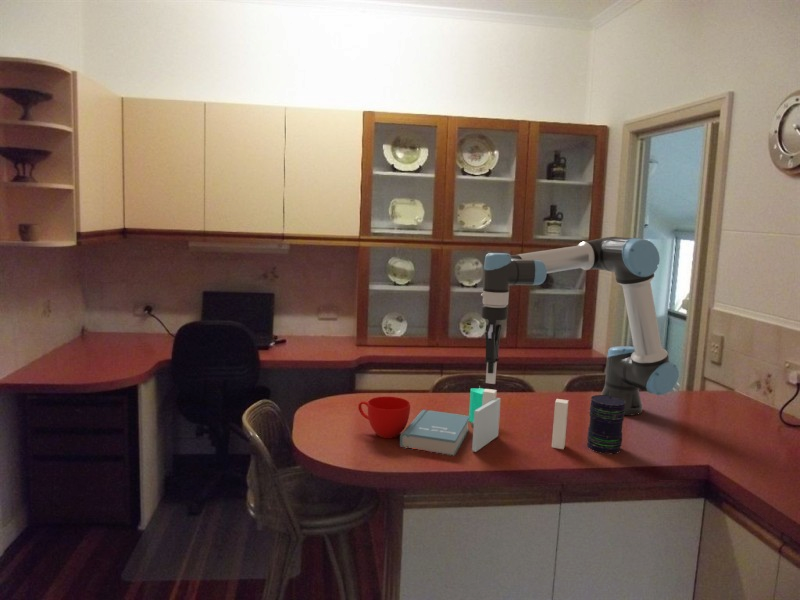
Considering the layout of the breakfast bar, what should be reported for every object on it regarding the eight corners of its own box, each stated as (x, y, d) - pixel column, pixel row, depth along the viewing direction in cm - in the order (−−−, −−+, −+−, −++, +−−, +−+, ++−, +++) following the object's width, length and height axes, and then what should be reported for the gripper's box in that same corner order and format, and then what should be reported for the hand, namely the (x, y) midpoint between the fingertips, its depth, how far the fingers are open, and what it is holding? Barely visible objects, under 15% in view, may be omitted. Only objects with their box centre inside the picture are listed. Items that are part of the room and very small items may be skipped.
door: (475, 451, 172) (478, 411, 170) (467, 449, 173) (469, 409, 172) (498, 435, 185) (500, 398, 184) (489, 433, 187) (492, 396, 185)
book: (454, 457, 169) (455, 440, 168) (399, 448, 174) (400, 432, 173) (468, 431, 191) (469, 415, 190) (420, 424, 195) (420, 409, 194)
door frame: (564, 445, 181) (568, 400, 179) (563, 449, 177) (567, 403, 175) (482, 431, 189) (485, 388, 187) (480, 435, 186) (483, 391, 184)
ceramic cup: (368, 421, 194) (369, 391, 192) (415, 432, 186) (417, 401, 185) (347, 434, 182) (348, 402, 181) (397, 445, 175) (398, 412, 173)
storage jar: (616, 457, 173) (621, 407, 171) (582, 449, 178) (586, 400, 176) (624, 446, 181) (629, 399, 179) (591, 439, 187) (595, 392, 184)
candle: (466, 422, 198) (468, 386, 196) (471, 416, 203) (473, 382, 201) (484, 425, 195) (486, 389, 194) (488, 419, 201) (490, 384, 199)
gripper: (486, 301, 185) (482, 376, 188) (477, 307, 172) (473, 386, 176) (511, 303, 182) (506, 378, 186) (503, 309, 170) (499, 390, 173)
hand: (490, 382), depth 181 cm, fingers closed
